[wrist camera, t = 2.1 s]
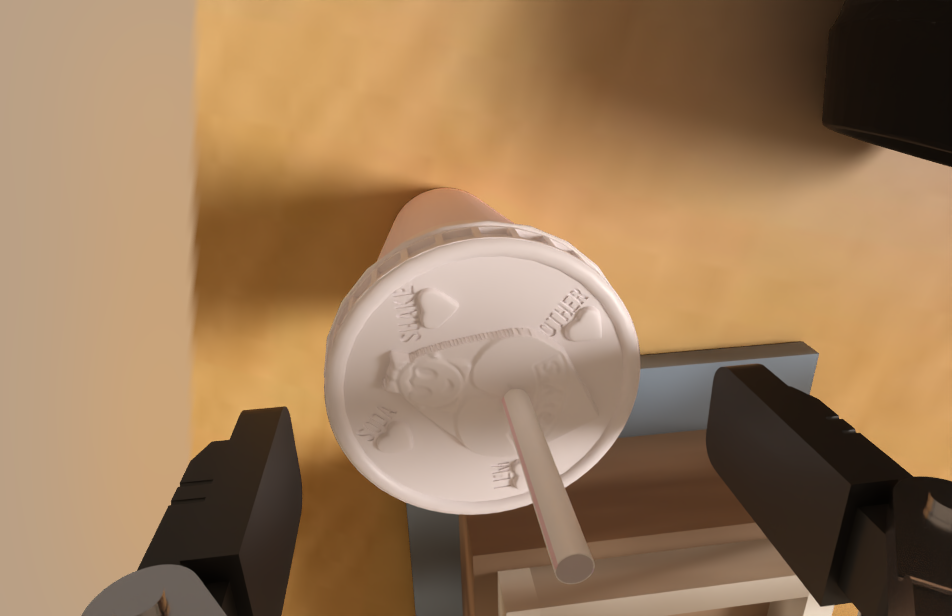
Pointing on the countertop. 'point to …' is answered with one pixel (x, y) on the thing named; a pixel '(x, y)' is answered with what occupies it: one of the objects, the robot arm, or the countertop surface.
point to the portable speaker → (892, 76)
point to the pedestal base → (629, 520)
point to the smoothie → (481, 368)
